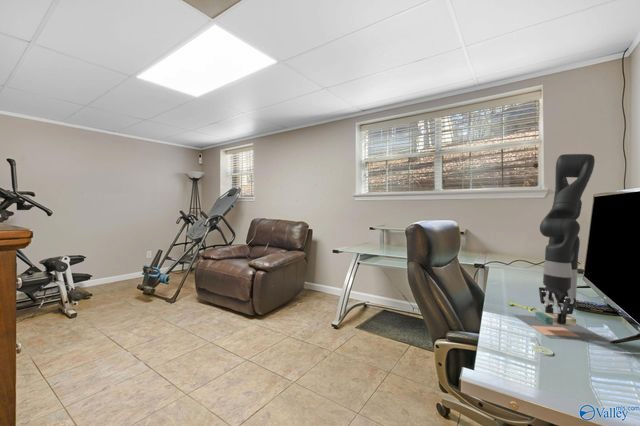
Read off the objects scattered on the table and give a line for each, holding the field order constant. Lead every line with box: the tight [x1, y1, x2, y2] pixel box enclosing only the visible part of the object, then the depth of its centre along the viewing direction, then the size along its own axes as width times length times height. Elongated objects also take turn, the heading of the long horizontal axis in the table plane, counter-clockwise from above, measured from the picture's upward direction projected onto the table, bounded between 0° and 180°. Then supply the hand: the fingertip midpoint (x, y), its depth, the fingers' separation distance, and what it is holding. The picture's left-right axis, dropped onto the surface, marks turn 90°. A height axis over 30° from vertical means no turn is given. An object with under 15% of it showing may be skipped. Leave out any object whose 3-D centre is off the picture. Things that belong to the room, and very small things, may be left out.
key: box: [508, 301, 543, 314], centre depth 118 cm, size 7×12×2 cm, turn 56°
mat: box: [512, 314, 613, 343], centre depth 100 cm, size 20×20×1 cm
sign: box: [531, 338, 554, 357], centre depth 88 cm, size 5×1×15 cm
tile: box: [534, 311, 577, 326], centre depth 96 cm, size 10×5×2 cm, turn 85°
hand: (554, 320), depth 96 cm, fingers closed on tile, 5 cm apart
